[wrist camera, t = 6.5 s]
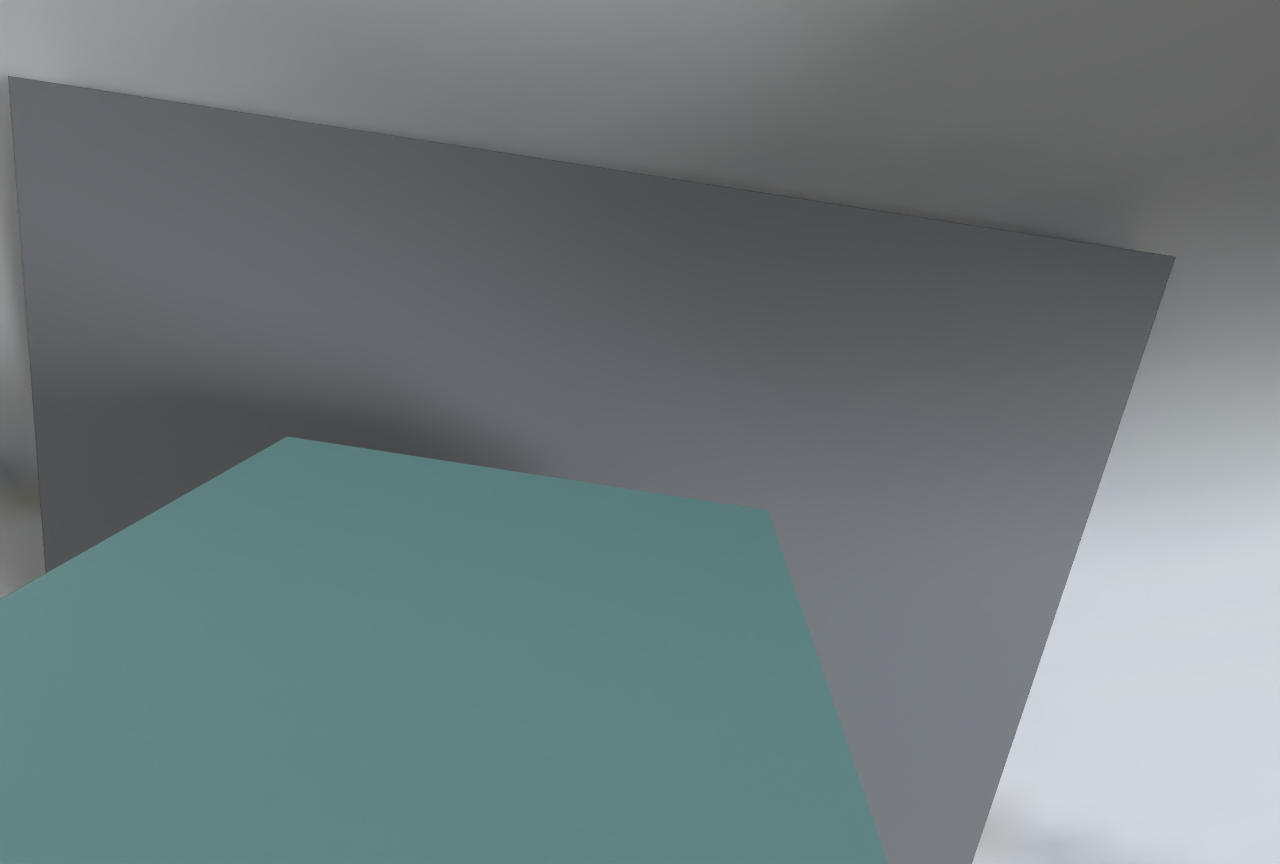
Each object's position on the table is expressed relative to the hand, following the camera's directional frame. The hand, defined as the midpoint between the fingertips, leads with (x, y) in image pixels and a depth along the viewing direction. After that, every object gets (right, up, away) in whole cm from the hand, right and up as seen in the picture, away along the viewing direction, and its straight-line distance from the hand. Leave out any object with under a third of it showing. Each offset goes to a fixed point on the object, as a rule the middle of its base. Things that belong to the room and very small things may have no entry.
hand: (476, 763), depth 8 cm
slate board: (-1, -5, +7) cm, 9 cm away
